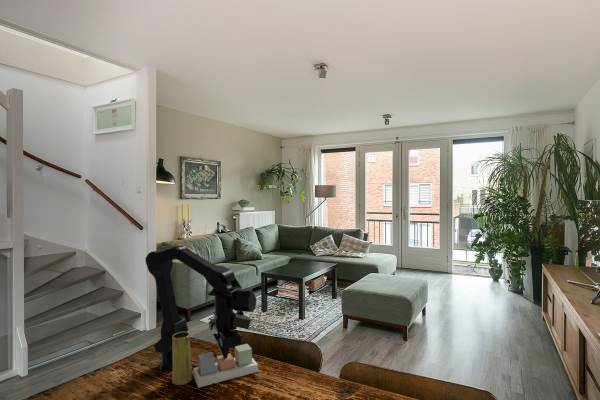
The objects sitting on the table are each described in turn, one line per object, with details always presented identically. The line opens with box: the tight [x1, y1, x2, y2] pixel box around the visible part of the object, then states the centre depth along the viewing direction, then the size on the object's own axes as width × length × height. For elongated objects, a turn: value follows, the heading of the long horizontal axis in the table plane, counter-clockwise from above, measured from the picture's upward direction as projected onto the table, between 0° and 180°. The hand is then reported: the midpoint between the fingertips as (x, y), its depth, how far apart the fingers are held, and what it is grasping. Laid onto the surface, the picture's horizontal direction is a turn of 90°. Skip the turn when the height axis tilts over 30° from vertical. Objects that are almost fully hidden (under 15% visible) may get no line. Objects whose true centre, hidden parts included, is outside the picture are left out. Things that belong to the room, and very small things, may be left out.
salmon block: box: [216, 352, 235, 372], centre depth 112 cm, size 4×4×5 cm
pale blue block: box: [197, 351, 216, 377], centre depth 110 cm, size 4×4×5 cm
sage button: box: [234, 343, 253, 367], centre depth 115 cm, size 4×4×5 cm
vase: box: [171, 331, 194, 386], centre depth 109 cm, size 6×6×14 cm
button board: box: [192, 357, 259, 388], centre depth 113 cm, size 8×19×2 cm, turn 117°
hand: (225, 357), depth 112 cm, fingers closed, pressing on salmon block
